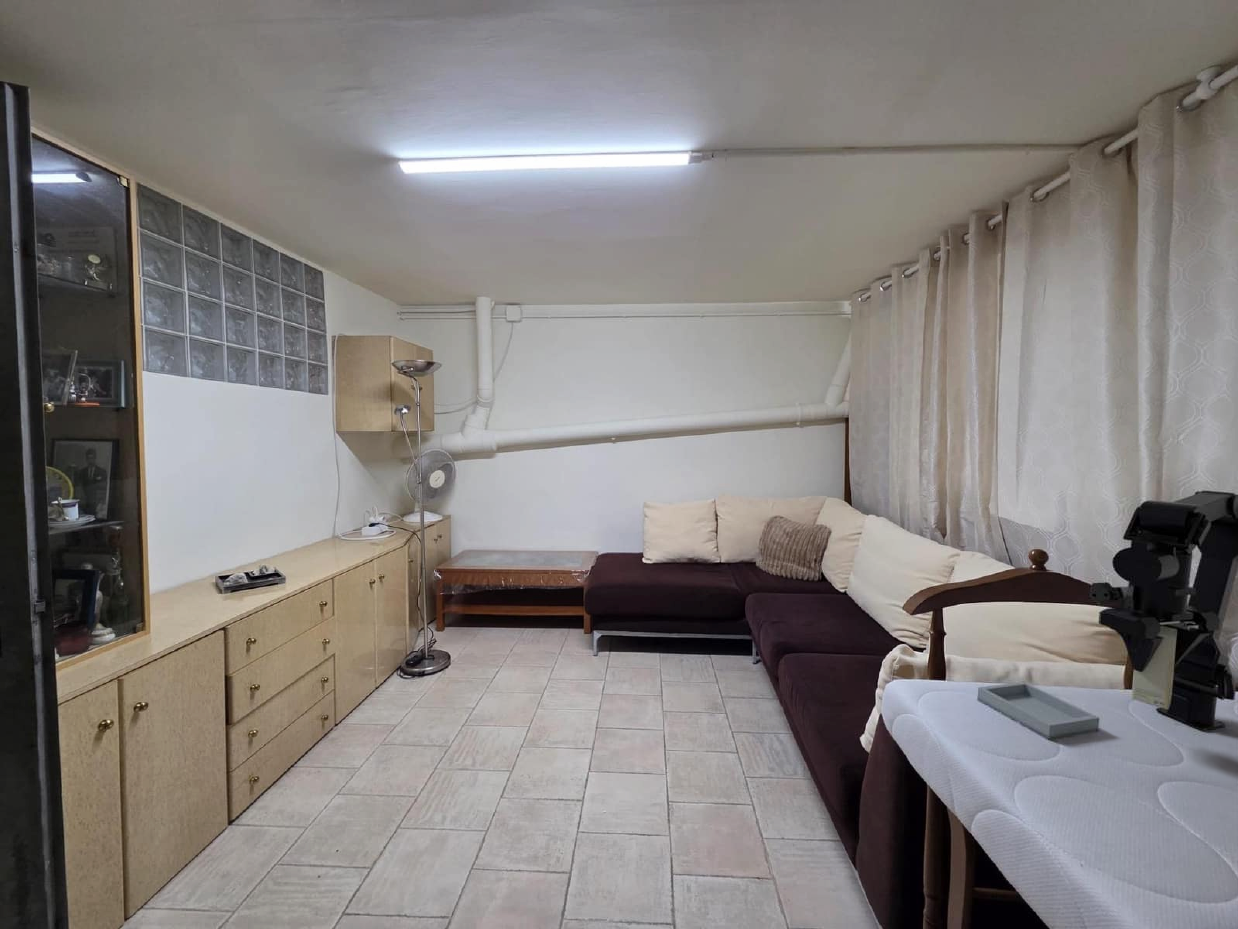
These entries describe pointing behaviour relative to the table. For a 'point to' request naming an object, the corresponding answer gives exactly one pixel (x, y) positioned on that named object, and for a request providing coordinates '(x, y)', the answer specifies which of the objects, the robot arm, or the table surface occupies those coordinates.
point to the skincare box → (1157, 673)
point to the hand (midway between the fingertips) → (1153, 668)
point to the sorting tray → (1038, 710)
